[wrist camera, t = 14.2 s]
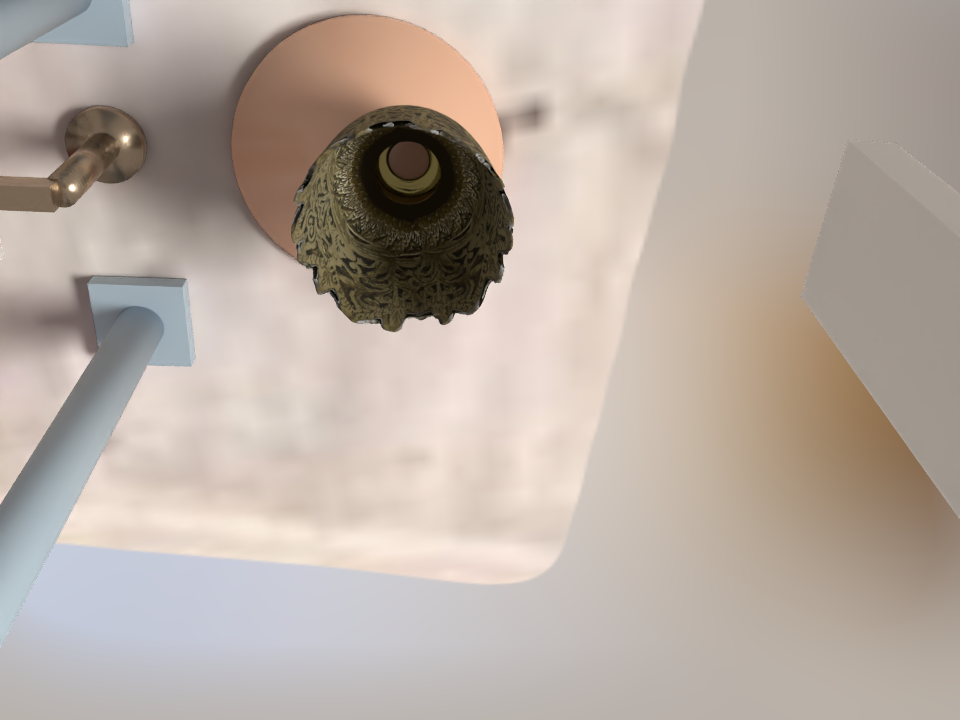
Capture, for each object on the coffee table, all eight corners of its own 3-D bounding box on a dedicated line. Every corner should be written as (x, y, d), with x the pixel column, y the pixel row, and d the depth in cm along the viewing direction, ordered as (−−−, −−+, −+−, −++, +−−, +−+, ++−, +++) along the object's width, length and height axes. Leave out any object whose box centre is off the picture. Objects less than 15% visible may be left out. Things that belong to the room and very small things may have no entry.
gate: (106, 354, 42) (-212, 879, 21) (23, -141, 32) (-734, -59, 11) (195, 357, 42) (-34, 878, 22) (141, -133, 32) (-386, -40, 12)
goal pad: (223, 6, 35) (220, 9, 34) (512, 22, 36) (514, 25, 35) (243, 270, 40) (240, 276, 40) (493, 280, 41) (494, 285, 41)
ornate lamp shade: (328, 248, 39) (306, 340, 32) (304, 72, 36) (273, 134, 29) (503, 238, 39) (517, 327, 33) (496, 61, 36) (511, 120, 29)
